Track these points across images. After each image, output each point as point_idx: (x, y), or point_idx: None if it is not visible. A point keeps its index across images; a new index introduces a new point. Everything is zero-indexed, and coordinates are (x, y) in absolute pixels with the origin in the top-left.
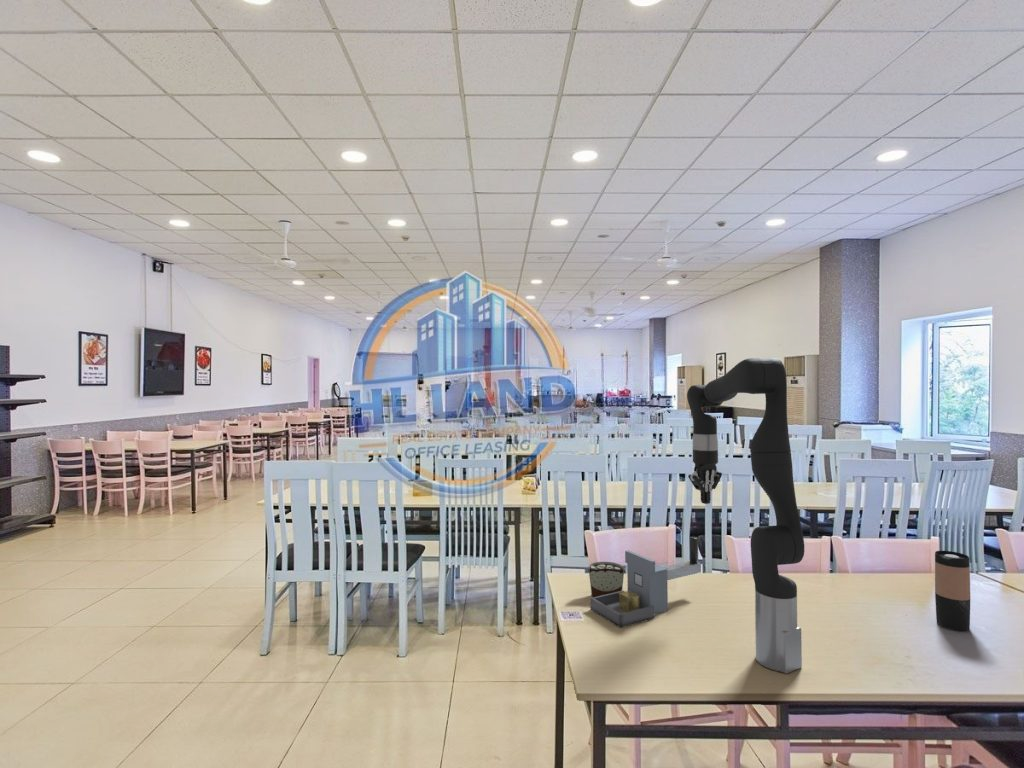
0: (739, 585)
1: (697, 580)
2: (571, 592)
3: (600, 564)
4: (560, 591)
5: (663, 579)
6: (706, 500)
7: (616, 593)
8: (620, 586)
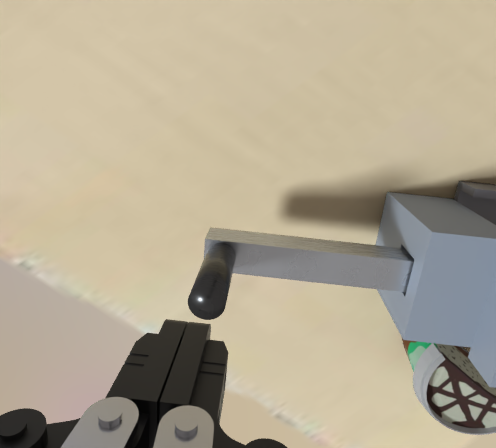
0: (62, 187)
1: (138, 276)
2: None
3: (452, 421)
4: None
5: (437, 222)
6: (205, 343)
7: None
8: None
